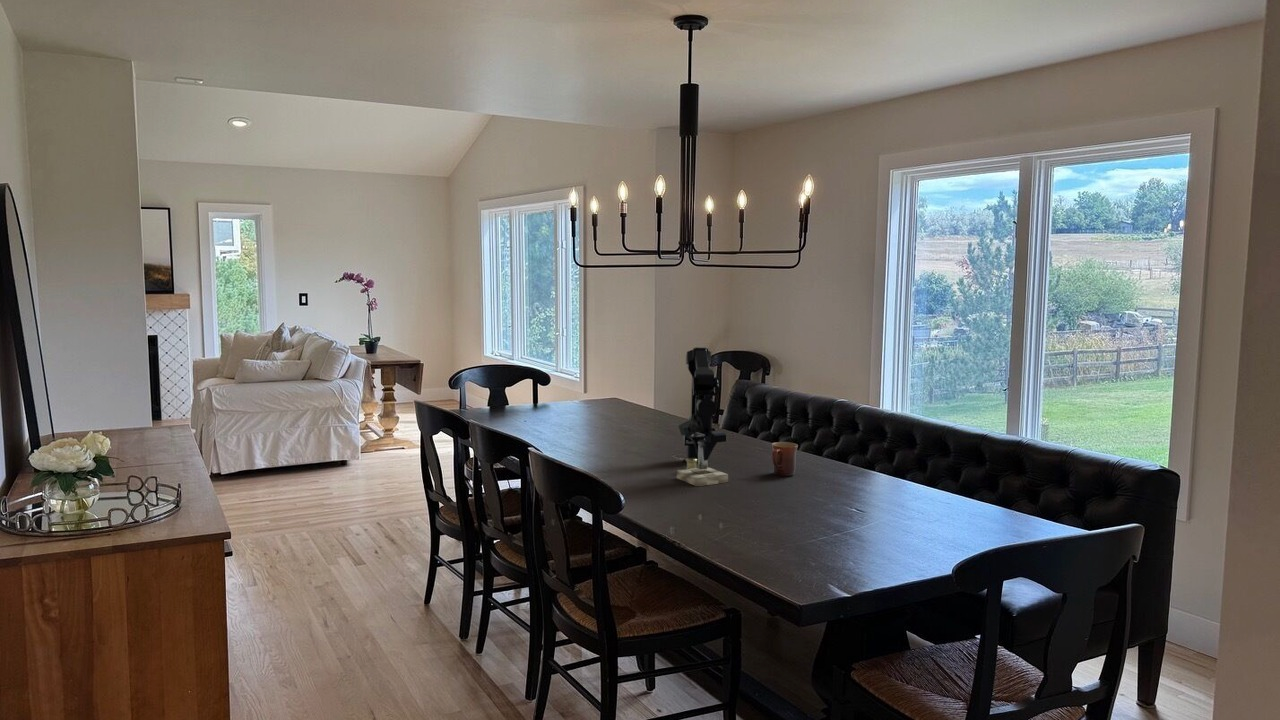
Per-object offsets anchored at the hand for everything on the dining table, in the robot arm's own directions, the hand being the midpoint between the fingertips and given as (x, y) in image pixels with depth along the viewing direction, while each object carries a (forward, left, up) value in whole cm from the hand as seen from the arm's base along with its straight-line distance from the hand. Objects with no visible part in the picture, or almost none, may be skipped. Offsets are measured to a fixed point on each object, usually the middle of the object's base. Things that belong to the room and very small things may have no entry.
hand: (702, 459), depth 284 cm
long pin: (0, 0, -3) cm, 3 cm away
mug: (+6, +28, -7) cm, 30 cm away
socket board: (0, 0, -7) cm, 7 cm away
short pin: (-11, +3, -7) cm, 13 cm away
